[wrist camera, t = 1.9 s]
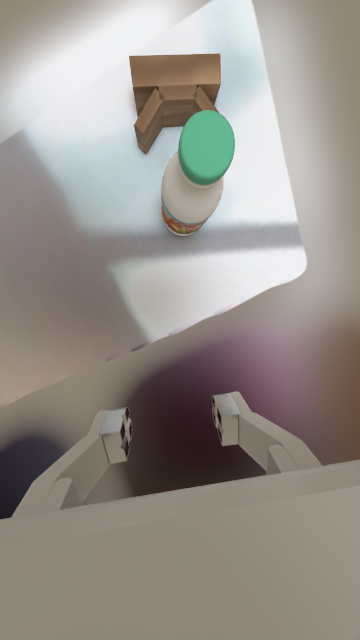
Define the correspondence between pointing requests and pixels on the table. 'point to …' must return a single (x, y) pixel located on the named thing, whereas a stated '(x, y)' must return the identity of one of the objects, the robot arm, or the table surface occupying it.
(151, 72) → the cradle
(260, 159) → the table surface
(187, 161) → the milk bottle
